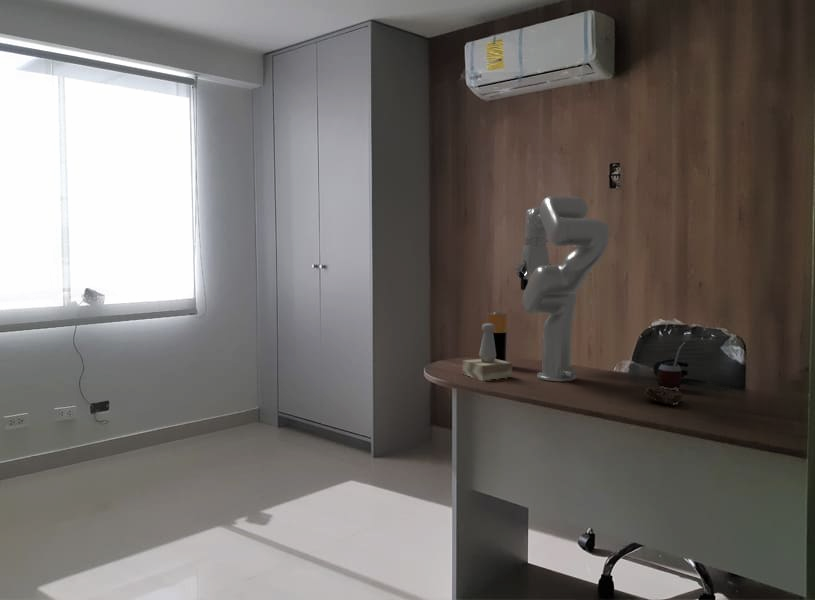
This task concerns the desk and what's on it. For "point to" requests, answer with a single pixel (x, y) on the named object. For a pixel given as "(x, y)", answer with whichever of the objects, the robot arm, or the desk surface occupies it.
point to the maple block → (486, 369)
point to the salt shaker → (488, 344)
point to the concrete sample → (663, 395)
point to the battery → (499, 333)
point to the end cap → (672, 361)
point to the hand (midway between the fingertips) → (534, 289)
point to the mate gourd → (670, 373)
